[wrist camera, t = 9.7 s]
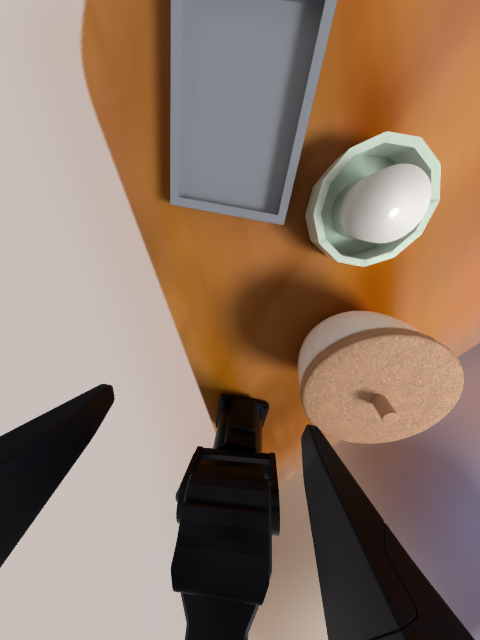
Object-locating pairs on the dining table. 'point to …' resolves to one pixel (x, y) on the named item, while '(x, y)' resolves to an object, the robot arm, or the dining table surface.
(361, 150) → the bowl
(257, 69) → the parts tray
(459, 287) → the dining table surface
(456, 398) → the lidded jar
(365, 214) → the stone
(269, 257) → the dining table surface
